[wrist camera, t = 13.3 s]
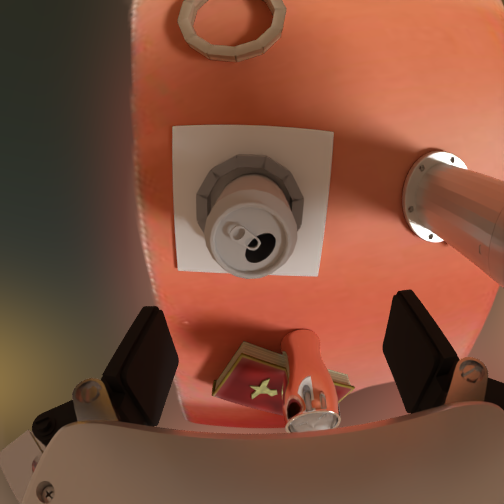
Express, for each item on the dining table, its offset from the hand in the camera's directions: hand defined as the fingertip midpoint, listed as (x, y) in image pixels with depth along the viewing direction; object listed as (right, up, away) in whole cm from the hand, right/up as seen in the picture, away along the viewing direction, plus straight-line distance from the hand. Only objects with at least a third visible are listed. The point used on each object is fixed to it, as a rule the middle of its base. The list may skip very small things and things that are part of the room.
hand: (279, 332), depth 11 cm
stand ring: (-3, +30, +13) cm, 32 cm away
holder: (-1, +9, +22) cm, 23 cm away
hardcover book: (+4, -19, +35) cm, 39 cm away
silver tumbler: (+6, -11, +30) cm, 33 cm away
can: (-1, +9, +21) cm, 23 cm away
